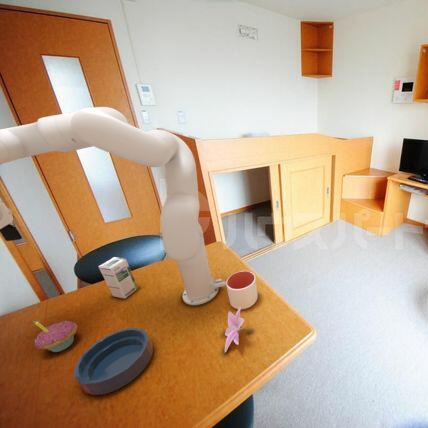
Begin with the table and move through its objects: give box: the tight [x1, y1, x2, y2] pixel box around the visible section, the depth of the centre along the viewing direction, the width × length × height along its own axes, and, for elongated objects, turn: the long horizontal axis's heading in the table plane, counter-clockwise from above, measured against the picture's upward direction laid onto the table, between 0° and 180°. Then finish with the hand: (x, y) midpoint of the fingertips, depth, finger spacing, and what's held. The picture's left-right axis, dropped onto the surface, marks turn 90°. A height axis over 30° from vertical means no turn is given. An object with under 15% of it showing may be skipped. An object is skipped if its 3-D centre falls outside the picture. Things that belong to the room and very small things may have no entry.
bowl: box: [73, 327, 154, 396], centre depth 66 cm, size 16×16×6 cm
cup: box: [225, 270, 259, 310], centre depth 87 cm, size 10×10×10 cm
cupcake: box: [32, 320, 78, 353], centre depth 70 cm, size 9×8×12 cm
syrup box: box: [98, 256, 139, 299], centre depth 89 cm, size 6×6×14 cm
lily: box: [224, 307, 251, 354], centre depth 74 cm, size 12×12×10 cm
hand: (2, 248), depth 64 cm, fingers open, 9 cm apart
